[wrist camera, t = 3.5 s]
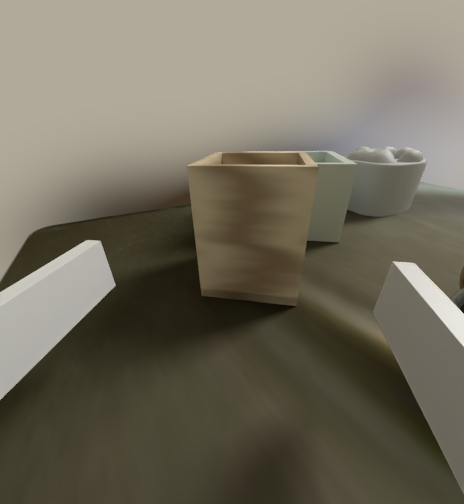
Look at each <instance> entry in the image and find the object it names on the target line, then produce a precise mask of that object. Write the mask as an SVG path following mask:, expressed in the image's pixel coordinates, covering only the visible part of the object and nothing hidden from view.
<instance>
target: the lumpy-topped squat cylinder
mask: <svg viewBox="0 0 464 504" xmlns="http://www.w3.org/2000/svg"><path fill="white" fill-rule="evenodd" d="M345 158H347V159H349V160H351V161H353V162H355V163H357V164H358V167H357V171H356V175H355V179H354V183H353V187H352V191H351V196H350V200H349V204H348V208H347V210H350V211H353V212H355V213H358V214H361V215H366V216H374V217H383V216H390V215H394V214H399V213H402V212H405V211H407V210H409V208H410V206H411V203H412V200H413V198H414V195H415V193H416V190H417V187H418V185H419V182H420V179H421V177H422V174H423V172H424V169H425V166H426V163H427V162H426V160H425V159H424V158H423V155H422V153H421V152H419V151H417V150H413V149H412V148H403V149H400V150H398V151H397V150H396V149H395V148H393V147H390V146H389V147H384V148H382V149H369V148H368V147H359V148H358V149H356V150H355V151H354V152H352V153H351V154H349V155H348V156H346V157H345Z"/></svg>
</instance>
